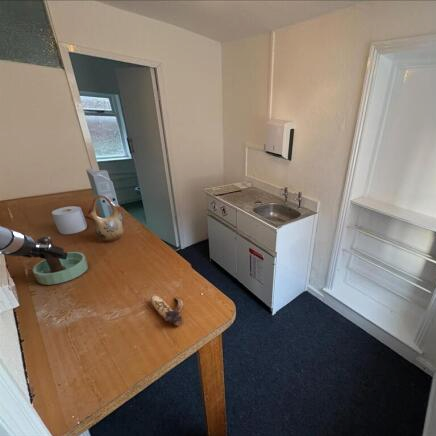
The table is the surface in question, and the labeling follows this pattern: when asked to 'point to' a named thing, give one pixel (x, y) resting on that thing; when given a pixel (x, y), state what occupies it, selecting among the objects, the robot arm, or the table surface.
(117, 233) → the ceramic vessel
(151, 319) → the table surface
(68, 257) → the bowl
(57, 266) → the pestle
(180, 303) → the bone fish hook
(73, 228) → the toilet paper roll
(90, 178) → the device
